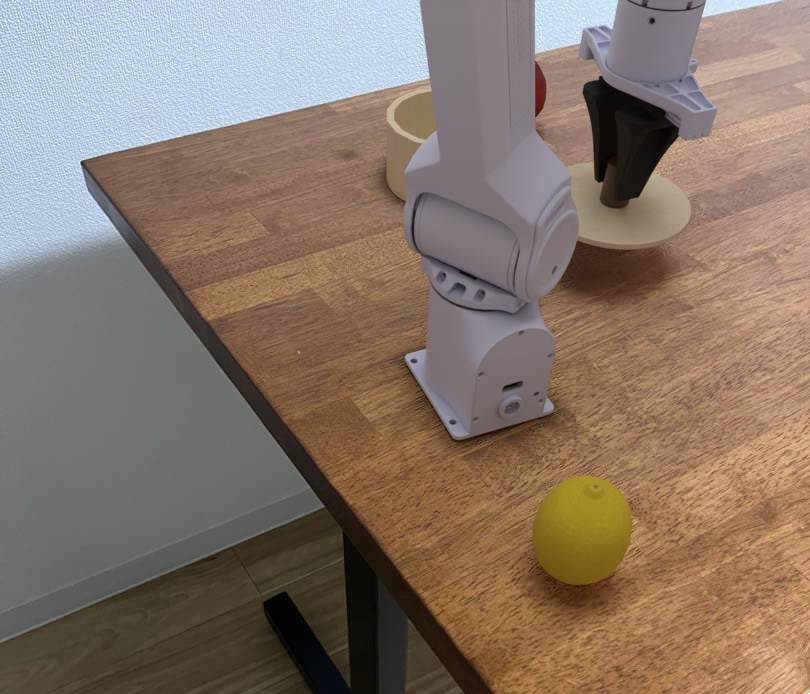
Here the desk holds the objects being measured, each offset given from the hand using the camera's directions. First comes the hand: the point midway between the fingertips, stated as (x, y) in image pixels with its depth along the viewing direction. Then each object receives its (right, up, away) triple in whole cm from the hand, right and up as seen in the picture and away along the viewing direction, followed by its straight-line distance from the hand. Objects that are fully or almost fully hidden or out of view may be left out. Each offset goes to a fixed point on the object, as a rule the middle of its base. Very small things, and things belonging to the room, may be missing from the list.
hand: (616, 188), depth 65 cm
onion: (-6, +14, +19) cm, 24 cm away
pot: (-13, +6, +13) cm, 20 cm away
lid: (0, -1, +1) cm, 2 cm away
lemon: (-7, -30, -15) cm, 34 cm away
